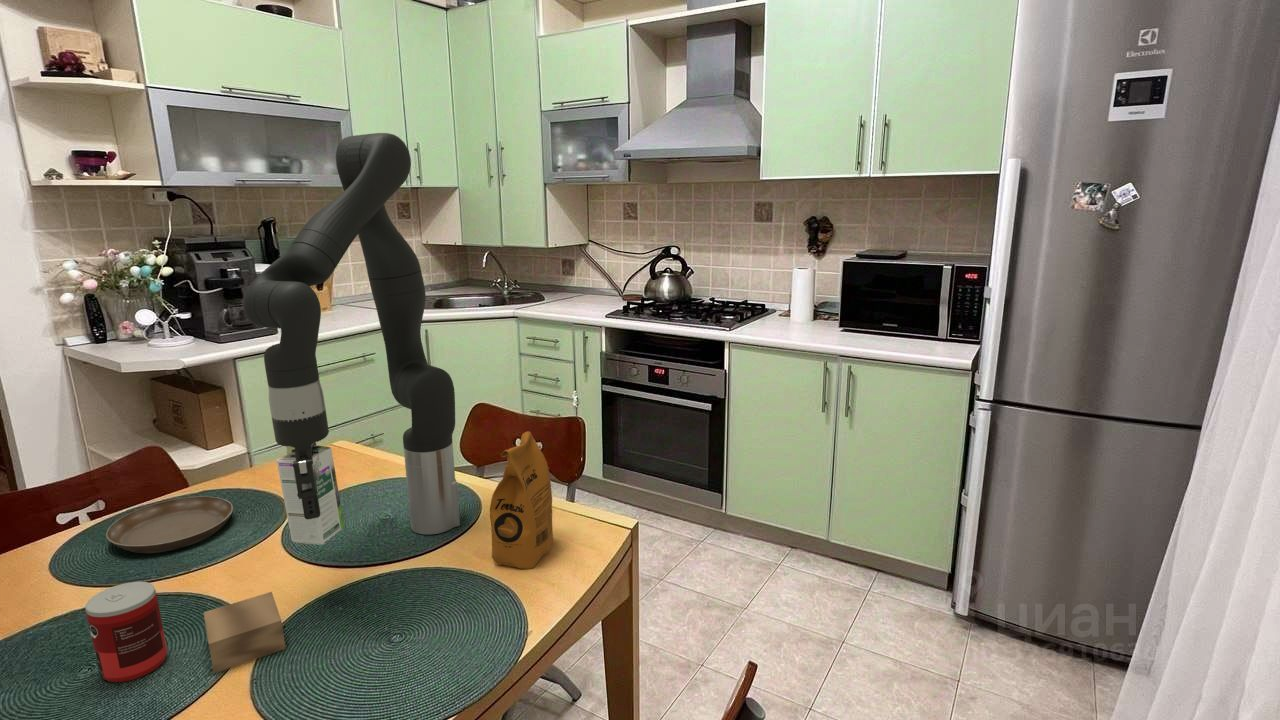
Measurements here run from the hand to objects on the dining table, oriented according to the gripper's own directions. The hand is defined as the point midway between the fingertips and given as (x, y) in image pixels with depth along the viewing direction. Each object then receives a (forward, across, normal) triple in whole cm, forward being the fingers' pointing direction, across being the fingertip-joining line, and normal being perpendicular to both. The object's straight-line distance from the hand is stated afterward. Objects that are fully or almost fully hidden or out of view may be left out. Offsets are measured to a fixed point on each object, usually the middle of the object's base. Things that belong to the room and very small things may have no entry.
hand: (313, 506), depth 108 cm
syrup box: (+5, 0, 0) cm, 5 cm away
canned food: (+16, -8, +25) cm, 30 cm away
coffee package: (+17, 0, -33) cm, 37 cm away
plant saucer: (+16, +36, +28) cm, 49 cm away
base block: (+16, -9, +11) cm, 21 cm away
